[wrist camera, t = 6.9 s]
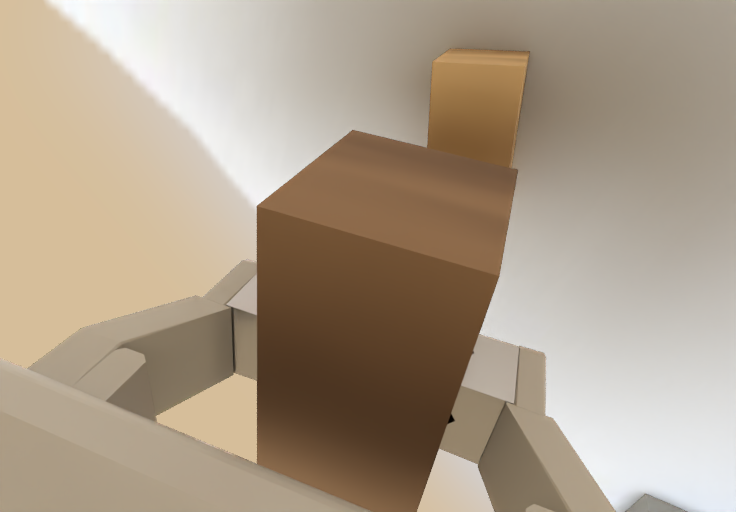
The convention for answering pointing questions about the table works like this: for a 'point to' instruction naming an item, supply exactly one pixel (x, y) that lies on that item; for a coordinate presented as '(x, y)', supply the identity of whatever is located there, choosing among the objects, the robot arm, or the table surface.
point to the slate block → (653, 505)
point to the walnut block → (372, 312)
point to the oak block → (477, 103)
